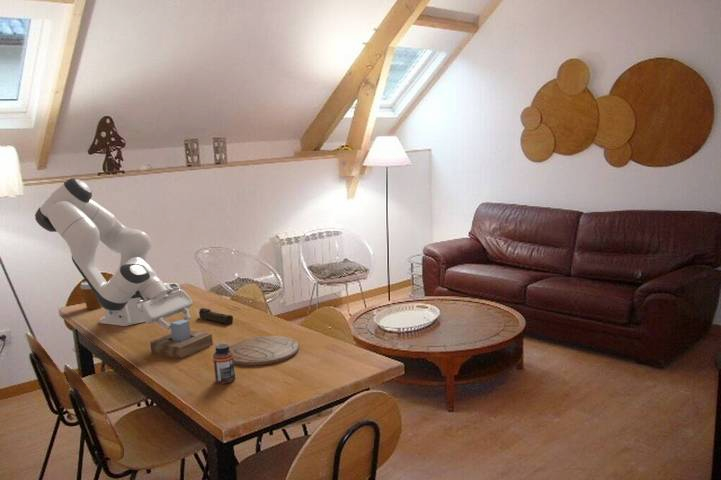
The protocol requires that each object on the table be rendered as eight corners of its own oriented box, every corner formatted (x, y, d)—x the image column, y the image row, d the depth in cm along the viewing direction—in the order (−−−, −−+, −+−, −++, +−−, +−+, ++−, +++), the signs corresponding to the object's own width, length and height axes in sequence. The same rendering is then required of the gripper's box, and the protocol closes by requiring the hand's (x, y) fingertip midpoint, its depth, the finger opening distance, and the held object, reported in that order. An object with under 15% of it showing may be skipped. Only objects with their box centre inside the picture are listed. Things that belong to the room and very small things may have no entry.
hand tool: (234, 323, 238) (233, 312, 237) (226, 326, 235) (225, 315, 234) (205, 316, 250) (204, 305, 249) (197, 319, 247) (196, 308, 246)
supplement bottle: (217, 377, 184) (213, 342, 182) (236, 375, 185) (233, 341, 183) (214, 385, 178) (210, 349, 176) (234, 383, 179) (230, 348, 177)
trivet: (262, 336, 221) (261, 331, 221) (313, 347, 207) (313, 342, 206) (210, 358, 201) (209, 353, 201) (262, 373, 187) (262, 367, 186)
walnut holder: (151, 352, 209) (150, 341, 208) (183, 339, 222) (182, 328, 221) (181, 358, 202) (180, 347, 201) (212, 344, 214) (211, 333, 214)
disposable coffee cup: (100, 310, 266) (96, 284, 264) (79, 311, 266) (75, 285, 264) (109, 304, 276) (106, 279, 273) (89, 305, 276) (85, 280, 274)
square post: (173, 349, 211) (170, 323, 209) (182, 345, 215) (180, 319, 213) (182, 351, 209) (179, 324, 207) (191, 347, 212) (188, 320, 211)
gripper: (137, 297, 204) (160, 327, 201) (181, 282, 221) (203, 310, 218) (130, 308, 207) (152, 338, 204) (174, 292, 224) (195, 320, 221)
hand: (179, 323), depth 211 cm, fingers open, 8 cm apart
